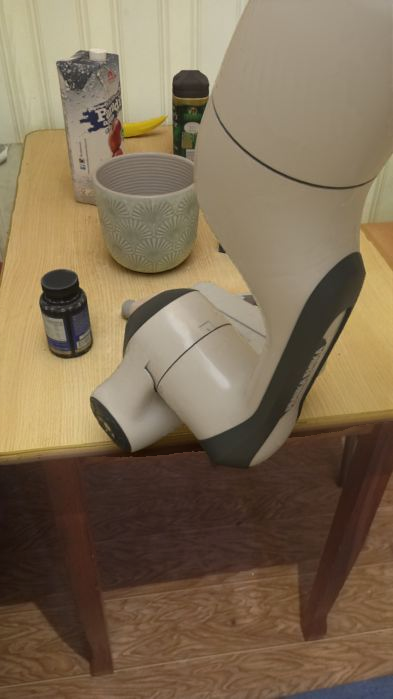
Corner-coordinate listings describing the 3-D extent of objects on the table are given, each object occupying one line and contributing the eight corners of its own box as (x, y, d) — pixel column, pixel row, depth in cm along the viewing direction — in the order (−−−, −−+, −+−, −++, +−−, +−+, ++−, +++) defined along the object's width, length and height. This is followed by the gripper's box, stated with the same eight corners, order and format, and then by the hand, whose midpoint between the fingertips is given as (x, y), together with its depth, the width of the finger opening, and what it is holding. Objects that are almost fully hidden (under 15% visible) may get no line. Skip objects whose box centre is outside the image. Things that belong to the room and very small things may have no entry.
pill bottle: (87, 327, 81) (78, 261, 74) (98, 353, 77) (89, 286, 70) (44, 337, 79) (30, 270, 72) (53, 364, 75) (39, 296, 68)
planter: (127, 227, 104) (121, 145, 94) (213, 244, 100) (217, 160, 90) (82, 274, 92) (70, 185, 82) (179, 295, 87) (178, 205, 78)
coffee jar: (172, 152, 131) (171, 66, 119) (206, 152, 132) (208, 66, 120) (173, 169, 124) (172, 79, 112) (208, 169, 124) (211, 79, 112)
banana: (168, 138, 138) (168, 111, 134) (90, 140, 136) (88, 113, 132) (167, 134, 140) (167, 107, 136) (91, 135, 139) (88, 109, 135)
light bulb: (105, 293, 79) (164, 301, 73) (136, 280, 84) (194, 287, 78) (111, 336, 82) (169, 348, 75) (142, 322, 86) (199, 332, 80)
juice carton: (69, 203, 111) (48, 52, 93) (93, 182, 118) (78, 39, 101) (110, 211, 108) (96, 58, 91) (132, 189, 116) (123, 44, 98)
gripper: (288, 379, 58) (360, 322, 66) (154, 297, 69) (230, 256, 76) (281, 420, 62) (349, 362, 70) (156, 336, 73) (227, 294, 80)
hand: (286, 306), depth 73 cm, fingers closed on beverage cup, 6 cm apart
